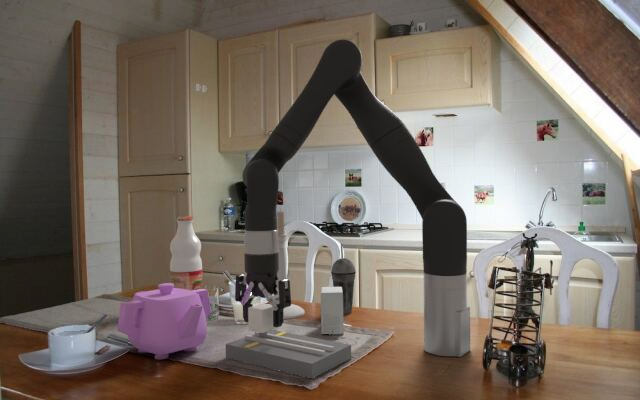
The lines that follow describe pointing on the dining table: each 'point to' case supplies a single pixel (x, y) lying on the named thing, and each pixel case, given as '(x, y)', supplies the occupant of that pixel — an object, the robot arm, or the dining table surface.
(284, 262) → the candlestick
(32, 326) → the dining table surface
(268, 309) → the fader tab
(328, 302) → the small box
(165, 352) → the teapot
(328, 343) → the fader console
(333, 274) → the beverage cup
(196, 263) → the fruit juice
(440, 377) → the dining table surface
